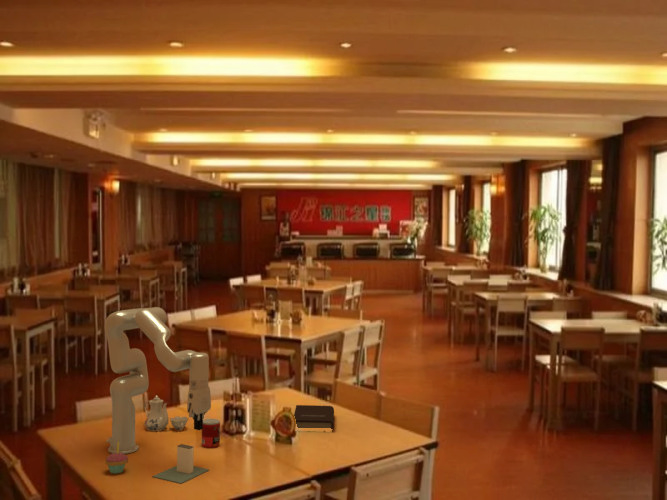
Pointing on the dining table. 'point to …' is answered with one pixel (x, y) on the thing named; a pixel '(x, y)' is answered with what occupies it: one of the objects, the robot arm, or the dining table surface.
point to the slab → (185, 458)
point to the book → (314, 416)
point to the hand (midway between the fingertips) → (198, 429)
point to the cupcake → (116, 461)
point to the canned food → (211, 433)
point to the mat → (180, 474)
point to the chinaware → (161, 417)
